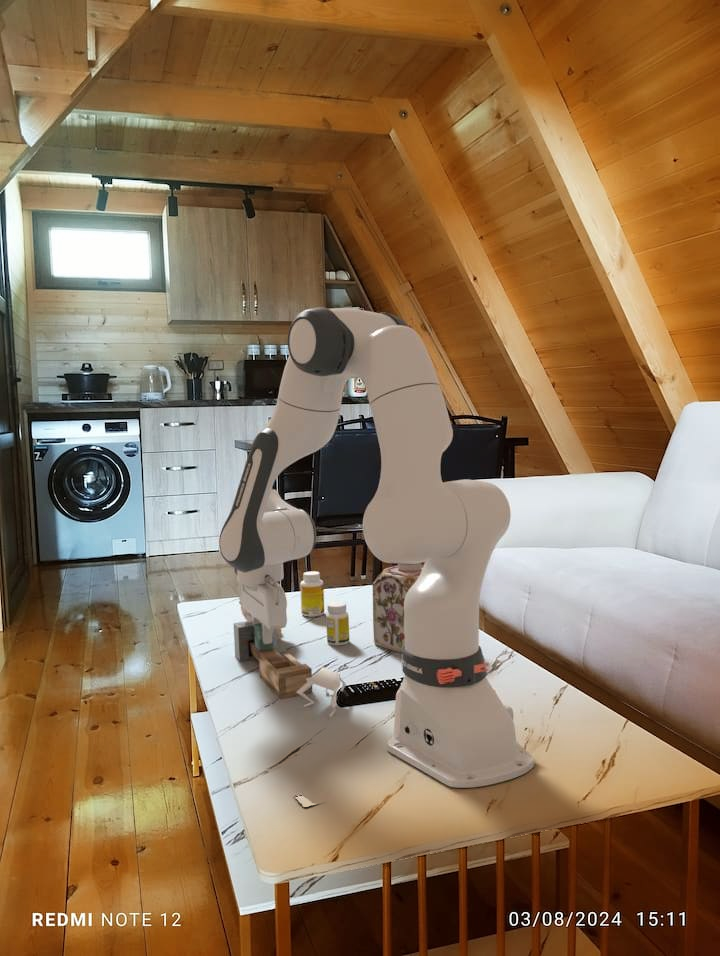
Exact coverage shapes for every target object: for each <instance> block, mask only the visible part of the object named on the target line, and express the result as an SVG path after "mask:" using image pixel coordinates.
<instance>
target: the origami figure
mask: <svg viewBox="0 0 720 956" xmlns="http://www.w3.org/2000/svg"><path fill="white" fill-rule="evenodd" d="M306 680H307V683H306V684H305V685H304V686H302V687H301V688H300V689H299V690H298V691H297V692H296V693H298V694H299V695H298V696H301V697H302V698H304V699H306V700H307V701H308V702H307V703H305V704H304V705H303V706H304V707H310V706H311V705H313V704H315V701H314V700H312V699H311V698H310V697H308V695H307V694H304V693H303V692H305V691H306V690H307V689H308V688H310V687H311V686H312V687H313V686H314V685H316V686H319V687H321V688H325V689H324V692H325V694H327V695H329V694H330V693H329V692H328V691H332V692H333V694H332V700H331V710H332V712H331V713H330V714H329V715H328V717H330V718H331V717H333V716H334V714H335V712H336V709H337V708H336V707H337V697H338V696H337V691H338V690H339V688H340V687H341V688H340V691H342V692H343V691H344V689H345V687H346V685H347V683H346V682H345V680H343V679H342V677H341V673H338V672H335V671H333V670H331V669H328V668H326V667H324V666H323V667H322V668H320V669H319V670H318V671H317V672H316V673H315V674H312V677H310V678H306ZM341 683H342V686H341ZM340 691H339V692H340Z"/></svg>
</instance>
